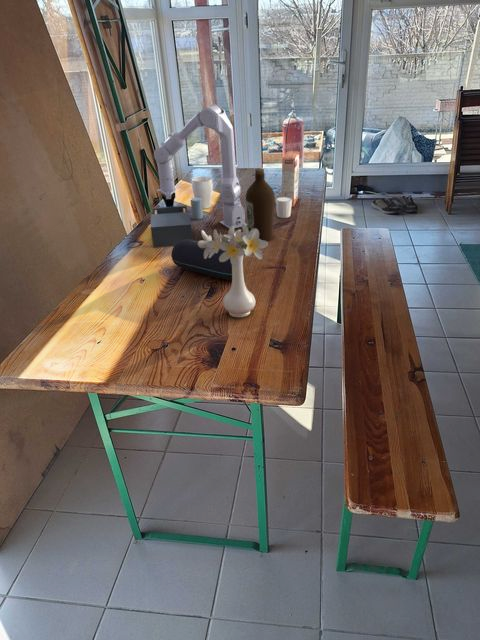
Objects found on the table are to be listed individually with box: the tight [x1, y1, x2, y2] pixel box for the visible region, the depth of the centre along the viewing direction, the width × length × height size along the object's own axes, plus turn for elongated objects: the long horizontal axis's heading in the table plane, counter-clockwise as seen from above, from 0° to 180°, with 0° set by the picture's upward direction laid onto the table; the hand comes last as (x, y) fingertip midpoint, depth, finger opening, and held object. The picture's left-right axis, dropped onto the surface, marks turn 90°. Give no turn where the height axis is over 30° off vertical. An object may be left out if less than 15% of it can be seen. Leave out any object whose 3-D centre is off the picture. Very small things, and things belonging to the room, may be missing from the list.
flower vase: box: [198, 224, 269, 318], centre depth 134 cm, size 13×18×25 cm
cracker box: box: [281, 150, 301, 208], centre depth 218 cm, size 14×6×21 cm, turn 168°
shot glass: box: [275, 196, 292, 219], centre depth 208 cm, size 7×7×7 cm
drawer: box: [152, 205, 188, 214], centre depth 197 cm, size 15×13×6 cm
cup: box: [191, 176, 214, 210], centre depth 218 cm, size 9×9×12 cm
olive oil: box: [245, 168, 276, 242], centre depth 182 cm, size 11×11×25 cm
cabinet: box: [150, 211, 194, 248], centre depth 187 cm, size 15×15×8 cm
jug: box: [190, 197, 204, 221], centre depth 207 cm, size 6×4×8 cm
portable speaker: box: [170, 239, 245, 281], centre depth 160 cm, size 25×10×10 cm, turn 59°
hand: (170, 211), depth 206 cm, fingers closed
